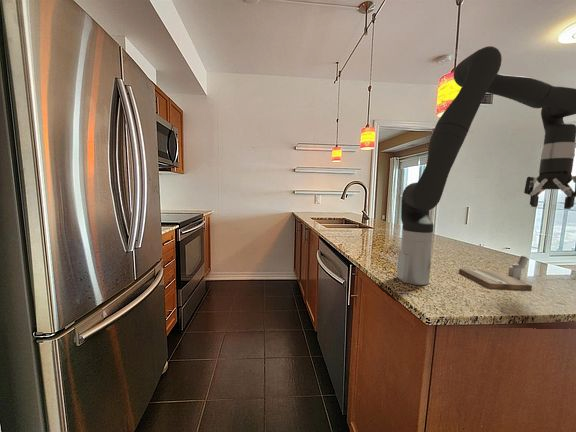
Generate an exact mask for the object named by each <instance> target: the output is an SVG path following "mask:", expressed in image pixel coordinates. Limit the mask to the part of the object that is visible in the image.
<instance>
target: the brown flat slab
mask: <svg viewBox="0 0 576 432" xmlns="http://www.w3.org/2000/svg"><path fill="white" fill-rule="evenodd" d="M458 273H460V274H461V275H464V276H465V277H467V278H469V279H471V280H473V281H474V282H477V283H479V284H481V285H482V286H485V287H486V288H488V289H504V290H505V289H506V290H525V291H532V289H533V285H532V284H530V283H527V282H524V281H522V280H521V279H515V278H513V277H510V276H508V274H505V273H503V272H501V271H498V270H496V269H482V268H481V269H476V268H459V269H458Z"/></svg>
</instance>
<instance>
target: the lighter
mask: <svg viewBox="0 0 576 432" xmlns="http://www.w3.org/2000/svg"><path fill="white" fill-rule="evenodd" d="M528 261H529V257H527V256H525V255H520V257H519V259H518V262H517V263H512V266H509V267H508V273H507V275H508V276H510V277H513V278H515V279H518V280H521V278H522V277H521V275H522V270H523V269H525V268H526V265H527V263H528Z"/></svg>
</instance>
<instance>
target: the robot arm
mask: <svg viewBox="0 0 576 432" xmlns="http://www.w3.org/2000/svg"><path fill="white" fill-rule="evenodd" d="M502 59H503V57H502V54H501V51H500V50H499V48H497V47H496V46H491V45H490V46H485V47H482V48H480V49H478V50H476V51H474V52H473V53H472V54H469V56H467V57H466V58H464V59H463V60H462V61H460V62H459V63H458V64H457V65H456V66H455V69H454V71H453V80H454V82H455V83H456V84H457V86H458V87H461V88H460V90H459V92H458V93H457V95H456V96H455V97H454V99H453V100H452V102H451V103H450V104H449V105H448V106H447V107H446V109H445V110H444V112H443V113H442V114H441V115H440V117H439V118H438V120H437V123H436V125H435V127H434V129H433V132H432V133H431V136H430V139H429V141H428V148H427V160H426V165H425V167H424V169H423V172H422V173H421V176H420V177H419V179H418V181H417V182H413V183H409V184H408V185H407V186H406V187H405V188H404V189H403V191H402V195H401V208H400V219H401V224H402V231H401V232H402V233H401V244H400V250H398V252H397V253H398V254H397V265H396V266H397V267H396V268H397V269H396V278H398V280H399V281H400V282H402V283H405V284H410V285H415V286H425V285H429V283H430V274H431V273H430V272H431V264H432V263H431V261H432V249H433V238H434V237H433V235H434V227H435V226H434V223H433V221H432V220H431V217H430V210H431V211H432V210H433V209H434V208H436V206H438V204H439V203H440V201H441V198H442V197H443V196H442V195H443V192H444V190H445V186H446V184H447V180H448V177H449V174H450V172H451V169H452V168H453V166H454V163H455V161H456V158H457V156H458V154H459V152H460V150H461V148H462V146H463V144H464V142H465V139H466V137H467V136H468V133H469V131H470V128H471V125H472V123H473V121H474V118H475V116H476V115H477V112H478V110H479V108H480V105H481V104H482V101H483V99H484V97H485V96H486V94H491V95H495V96H498V97H502V98H506V99H508V100H513V101H515V102H517V103H519V104H522V105H524V106H527V107H529V108H533V109H541V111H540V116H541V117H540V118H541V121H542V125H543V129H544V140H543V146H542V149H541V155H540V163H539V168H538V169H539V170H538V173H539V174H538V176H537V177H535V176H527V178H526V180H525V187H524V191H523V193H524V194H525V195H529V196H530V201H529V205H530V207H532V208H537V207H538V206H539V199H540V198H539V195H540V194H541V193H543V192H544V191H545V190H560V191H561V192H563V193H564V194H565V195H566V197H565V199H564V207H563V208H564V210H571V208H573V207H574V205H575V198H576V175H574V176H573V175H572V173H573V166H574V159H575V155H576V154H575V153H576V152H575V151H576V146H575V145H576V144H575V143H576V125H575V124H574V123H565V120H564V118H566V117H569V116H573V115H574V116H575V115H576V88H573V87H568V86H562V85H561V86H559V85H553V84H550V83H548V82H545V81H543V80H540V79H537V78H533V77H531V76H530V77H528V76H521V75H508V74H507V75H506V74H501V73H499V71H500V68H501V66H502V61H503V60H502ZM572 181H573V183H575V184H574V190H573V188H572V186H570V185H569V184H570V183H571V182H572ZM537 182H538V184H537V185H536V186H535V184H536V183H537ZM534 186H535V187H534Z"/></svg>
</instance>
